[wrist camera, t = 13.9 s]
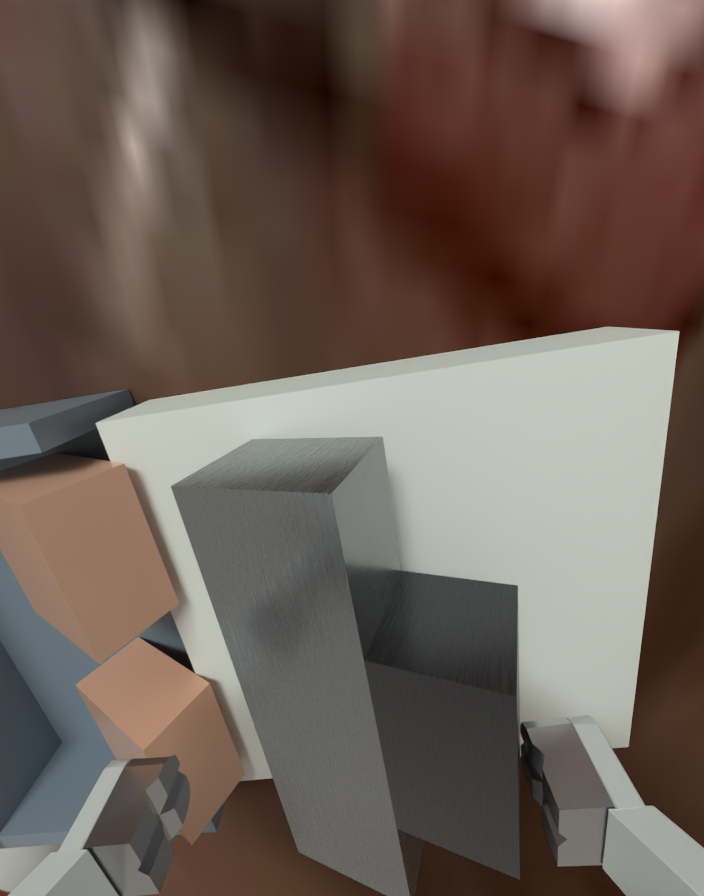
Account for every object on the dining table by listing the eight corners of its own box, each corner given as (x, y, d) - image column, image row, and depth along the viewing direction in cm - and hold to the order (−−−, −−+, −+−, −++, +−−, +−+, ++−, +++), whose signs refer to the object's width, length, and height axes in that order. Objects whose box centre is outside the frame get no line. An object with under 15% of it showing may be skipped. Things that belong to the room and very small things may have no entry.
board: (607, 326, 13) (679, 330, 10) (586, 678, 18) (628, 746, 15) (148, 399, 14) (95, 422, 11) (256, 711, 19) (238, 781, 16)
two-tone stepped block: (251, 439, 11) (515, 433, 8) (334, 759, 16) (521, 827, 13) (170, 486, 8) (512, 502, 6) (298, 852, 13) (521, 962, 10)
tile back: (209, 683, 14) (143, 750, 12) (245, 773, 15) (191, 845, 13) (138, 636, 16) (75, 685, 15) (174, 717, 18) (122, 770, 16)
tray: (128, 389, 14) (28, 423, 9) (247, 719, 19) (216, 831, 15) (-120, 429, 14) (-315, 477, 10) (65, 737, 20) (-12, 849, 16)
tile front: (124, 463, 11) (18, 505, 9) (179, 603, 12) (99, 664, 11) (55, 452, 14) (-37, 483, 12) (107, 568, 15) (34, 611, 13)
